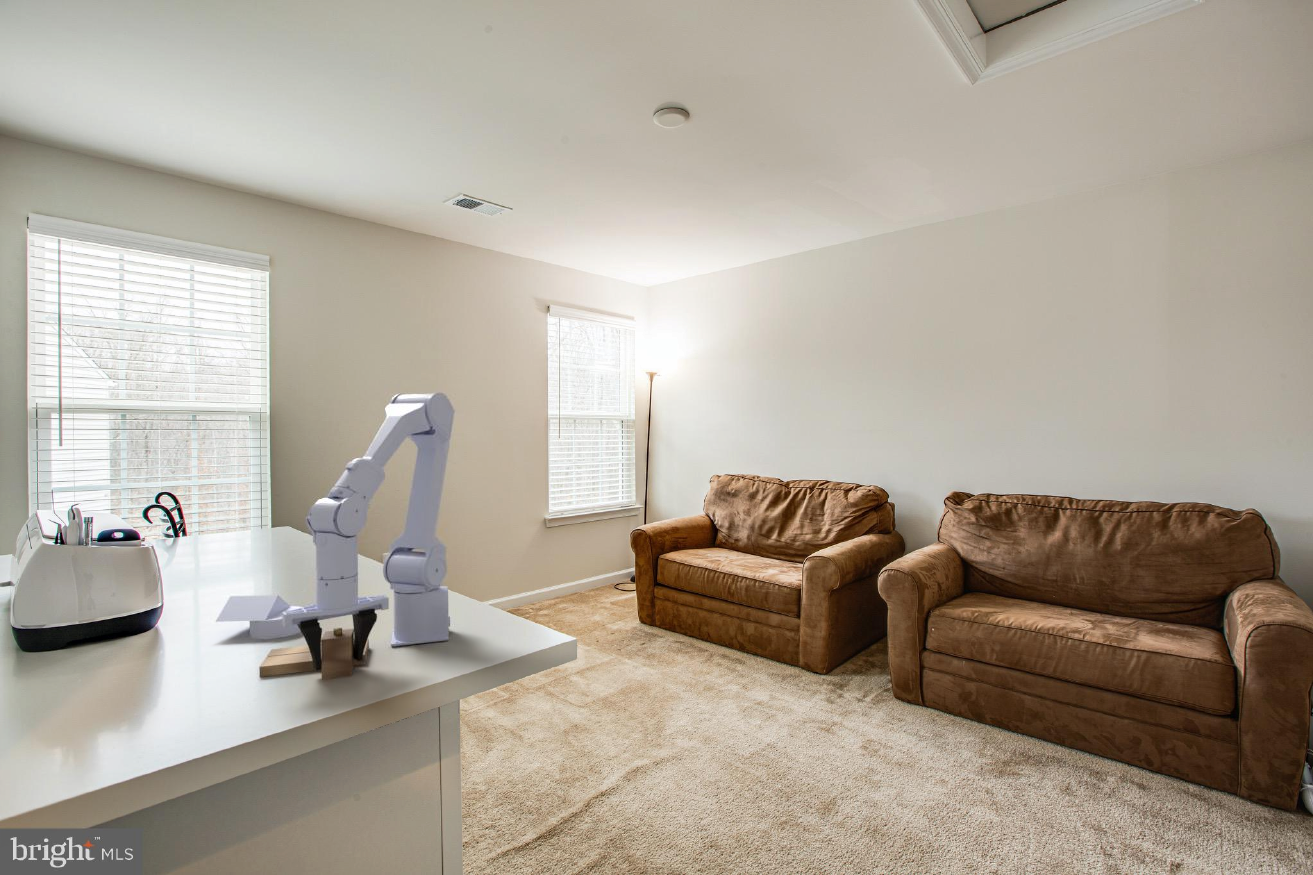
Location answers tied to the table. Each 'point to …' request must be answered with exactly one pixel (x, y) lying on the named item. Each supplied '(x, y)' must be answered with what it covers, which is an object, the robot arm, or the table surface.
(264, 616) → the wedge on round base
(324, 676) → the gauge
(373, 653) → the table surface
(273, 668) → the board
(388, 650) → the table surface
